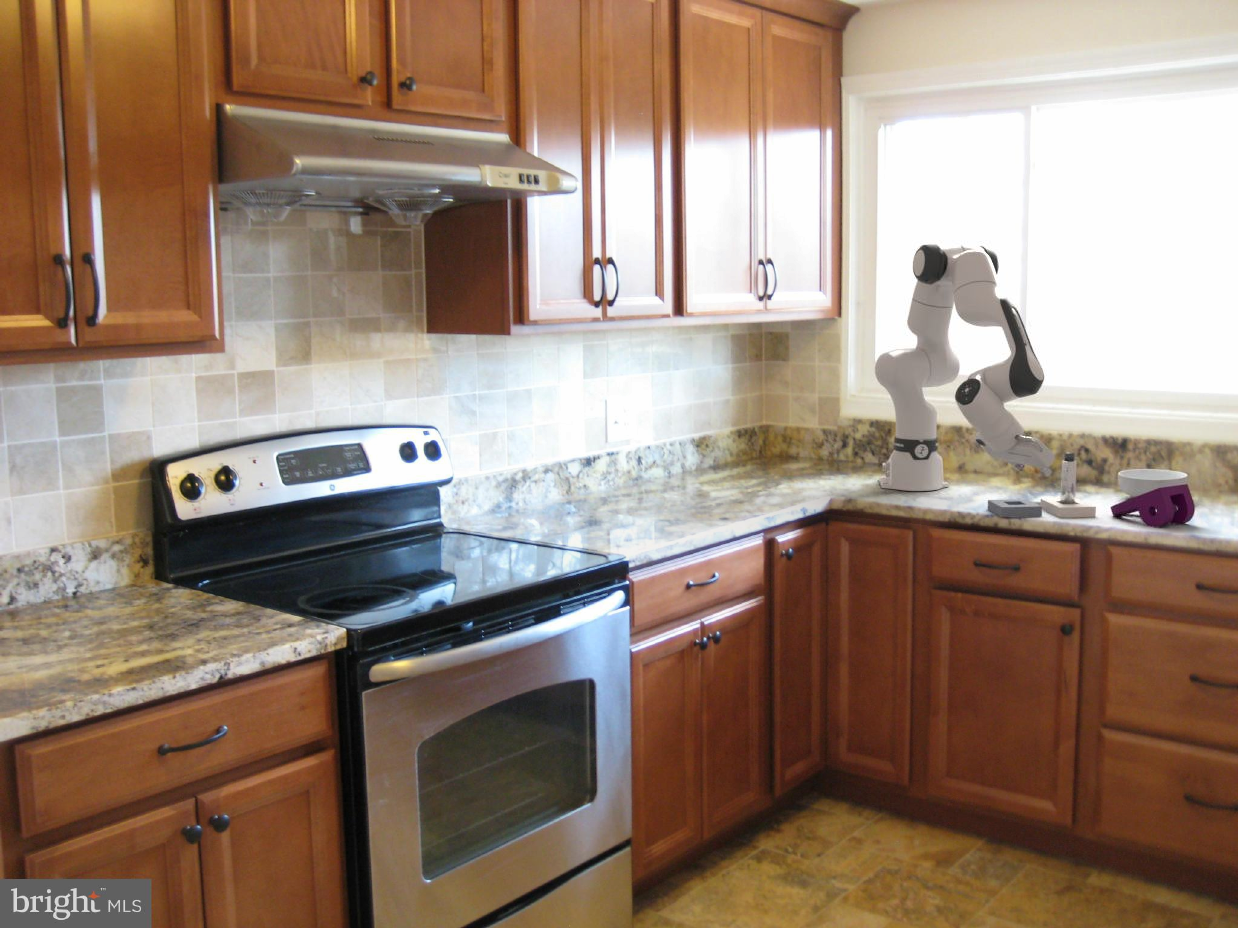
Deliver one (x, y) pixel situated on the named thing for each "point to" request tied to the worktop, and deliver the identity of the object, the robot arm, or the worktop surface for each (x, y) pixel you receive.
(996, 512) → the socket
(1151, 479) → the cereal bowl
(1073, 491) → the capped cylinder peg
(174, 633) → the worktop surface
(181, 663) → the worktop surface
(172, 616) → the worktop surface
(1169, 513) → the mounting bracket
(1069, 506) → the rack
